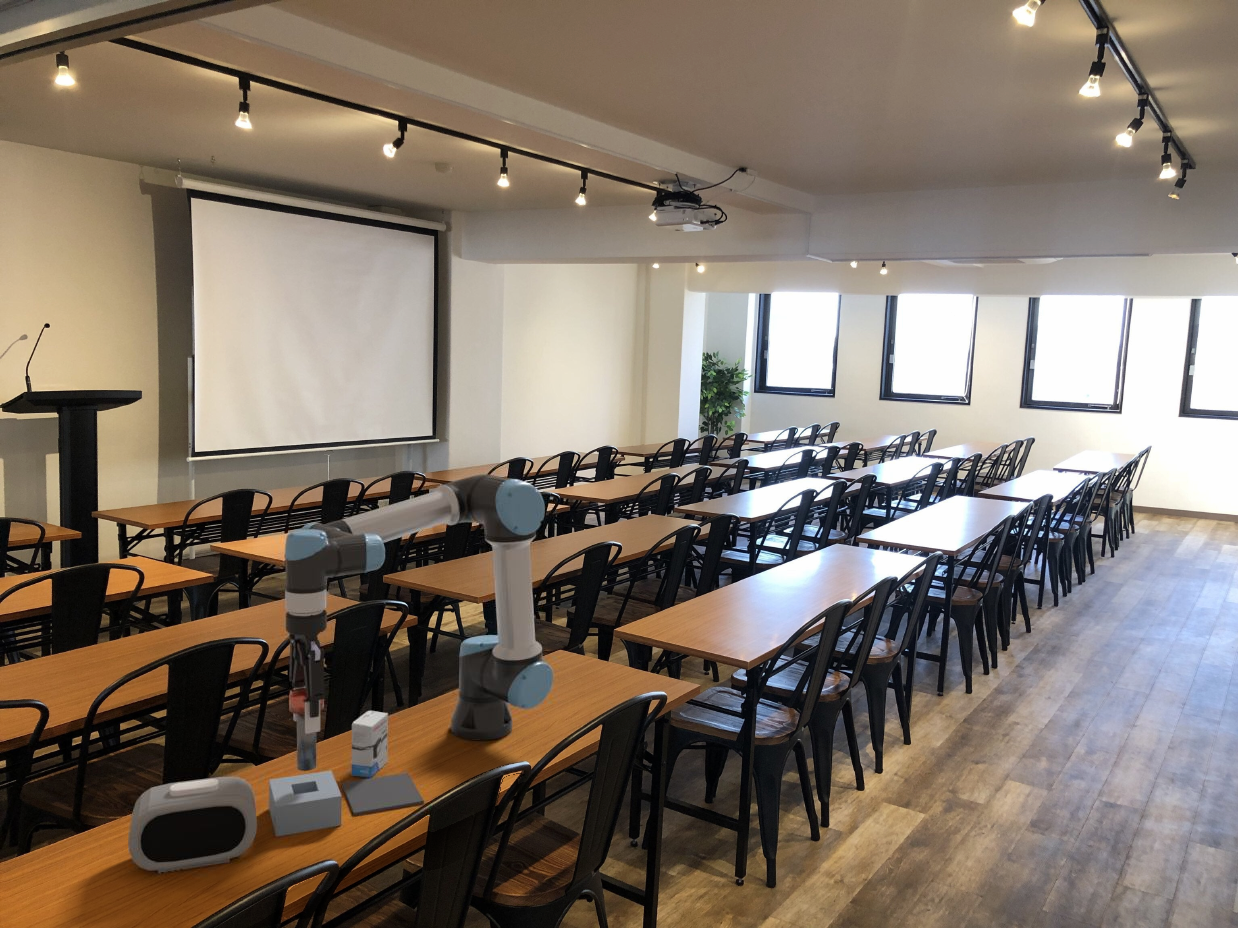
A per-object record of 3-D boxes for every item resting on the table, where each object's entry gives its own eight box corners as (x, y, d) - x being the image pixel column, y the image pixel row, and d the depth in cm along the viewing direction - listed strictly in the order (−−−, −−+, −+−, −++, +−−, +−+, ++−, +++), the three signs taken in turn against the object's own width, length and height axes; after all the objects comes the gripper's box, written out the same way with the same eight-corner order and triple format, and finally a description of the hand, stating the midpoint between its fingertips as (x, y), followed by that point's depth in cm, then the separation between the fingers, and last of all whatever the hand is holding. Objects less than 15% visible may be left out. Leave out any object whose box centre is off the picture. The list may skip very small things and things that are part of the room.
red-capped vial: (295, 776, 178) (295, 696, 176) (285, 764, 183) (284, 686, 181) (328, 768, 182) (328, 690, 180) (317, 756, 187) (317, 680, 185)
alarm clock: (128, 881, 159) (127, 806, 157) (132, 853, 168) (131, 782, 166) (257, 860, 167) (257, 789, 166) (254, 834, 176) (255, 767, 174)
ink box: (370, 778, 201) (371, 726, 200) (349, 775, 202) (350, 723, 201) (388, 762, 209) (389, 712, 208) (368, 759, 210) (368, 709, 209)
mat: (407, 774, 203) (407, 772, 203) (423, 803, 191) (423, 800, 191) (341, 785, 197) (341, 782, 197) (354, 815, 185) (354, 812, 185)
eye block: (331, 798, 191) (331, 770, 191) (341, 825, 181) (341, 795, 180) (269, 808, 186) (269, 779, 185) (275, 836, 175) (276, 806, 175)
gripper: (343, 620, 173) (343, 738, 176) (309, 596, 189) (309, 705, 191) (302, 626, 169) (303, 747, 172) (271, 601, 184) (272, 712, 187)
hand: (306, 725), depth 181 cm, fingers closed on red-capped vial, 6 cm apart
